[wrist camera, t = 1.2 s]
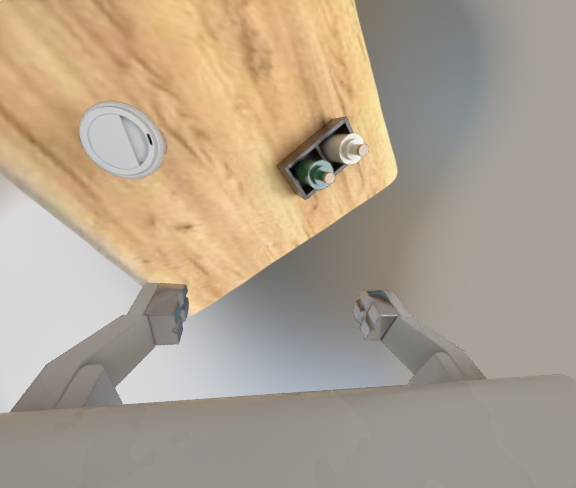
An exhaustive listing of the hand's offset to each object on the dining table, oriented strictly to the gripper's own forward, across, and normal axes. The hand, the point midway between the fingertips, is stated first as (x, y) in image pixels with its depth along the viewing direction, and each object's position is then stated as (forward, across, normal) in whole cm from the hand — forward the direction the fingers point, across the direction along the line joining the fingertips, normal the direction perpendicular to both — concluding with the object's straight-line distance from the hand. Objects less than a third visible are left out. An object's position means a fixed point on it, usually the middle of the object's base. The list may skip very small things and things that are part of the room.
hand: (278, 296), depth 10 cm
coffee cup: (+41, +20, +3) cm, 46 cm away
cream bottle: (+46, -16, 0) cm, 49 cm away
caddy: (+46, -13, +2) cm, 48 cm away
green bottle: (+44, -11, +5) cm, 46 cm away
